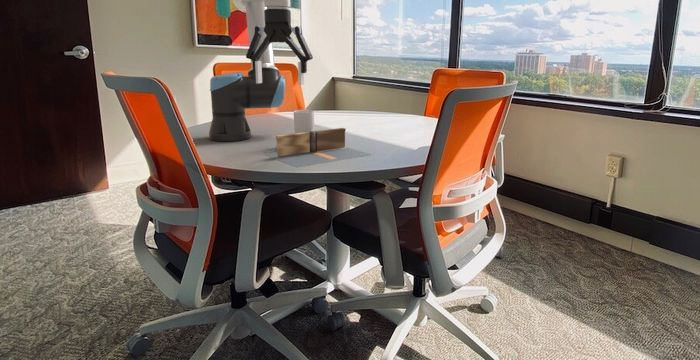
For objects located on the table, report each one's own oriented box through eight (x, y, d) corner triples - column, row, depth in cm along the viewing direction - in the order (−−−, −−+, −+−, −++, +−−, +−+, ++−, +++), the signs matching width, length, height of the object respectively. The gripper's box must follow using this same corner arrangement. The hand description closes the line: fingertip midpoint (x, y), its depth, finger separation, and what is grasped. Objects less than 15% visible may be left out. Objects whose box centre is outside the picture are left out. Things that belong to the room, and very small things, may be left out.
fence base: (308, 151, 146) (307, 131, 144) (342, 146, 154) (342, 127, 152) (311, 152, 145) (311, 132, 143) (345, 147, 152) (345, 128, 150)
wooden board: (307, 151, 146) (306, 132, 144) (310, 152, 144) (309, 132, 143) (276, 155, 140) (275, 135, 138) (279, 156, 138) (278, 136, 137)
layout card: (262, 155, 144) (262, 153, 143) (334, 144, 159) (334, 143, 159) (296, 169, 127) (296, 167, 127) (372, 156, 143) (372, 154, 143)
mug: (316, 148, 154) (315, 112, 150) (295, 149, 152) (294, 112, 149) (311, 142, 163) (311, 108, 160) (292, 143, 162) (291, 108, 158)
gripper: (231, 8, 132) (236, 83, 138) (314, 7, 126) (315, 86, 132) (243, 9, 139) (247, 81, 145) (322, 9, 133) (323, 84, 139)
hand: (280, 84), depth 138 cm, fingers open, 13 cm apart
